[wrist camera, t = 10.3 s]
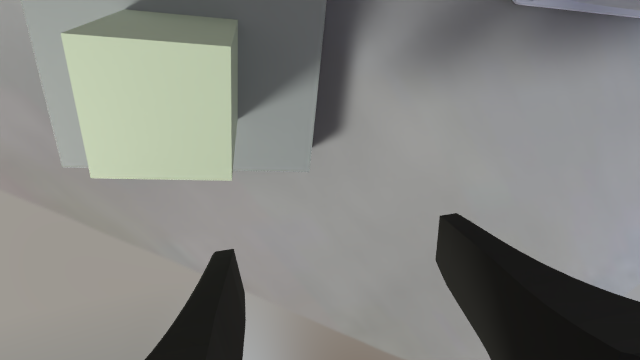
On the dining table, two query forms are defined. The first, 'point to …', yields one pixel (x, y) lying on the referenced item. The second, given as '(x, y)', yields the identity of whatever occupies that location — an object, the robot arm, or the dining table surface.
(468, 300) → the robot arm
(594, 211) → the dining table surface
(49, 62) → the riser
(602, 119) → the dining table surface
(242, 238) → the dining table surface
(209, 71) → the green block
